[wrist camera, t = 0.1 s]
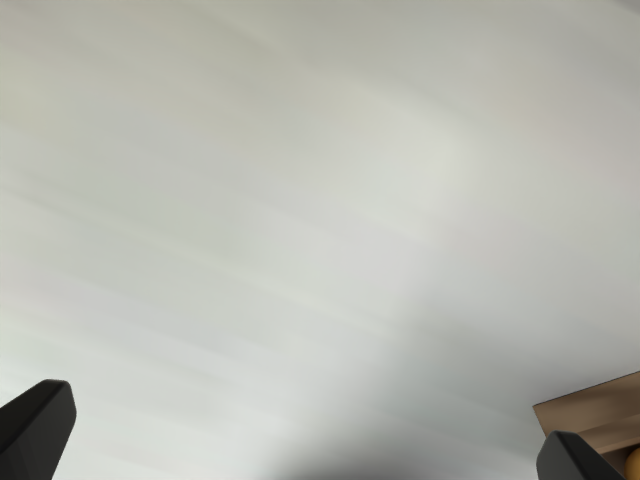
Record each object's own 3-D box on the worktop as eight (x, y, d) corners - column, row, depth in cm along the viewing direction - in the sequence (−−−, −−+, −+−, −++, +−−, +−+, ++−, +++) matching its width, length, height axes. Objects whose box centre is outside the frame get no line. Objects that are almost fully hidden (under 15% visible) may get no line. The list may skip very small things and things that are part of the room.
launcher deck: (562, 467, 31) (588, 522, 28) (532, 406, 29) (556, 460, 25) (691, 430, 29) (735, 486, 26) (671, 361, 26) (717, 413, 23)
